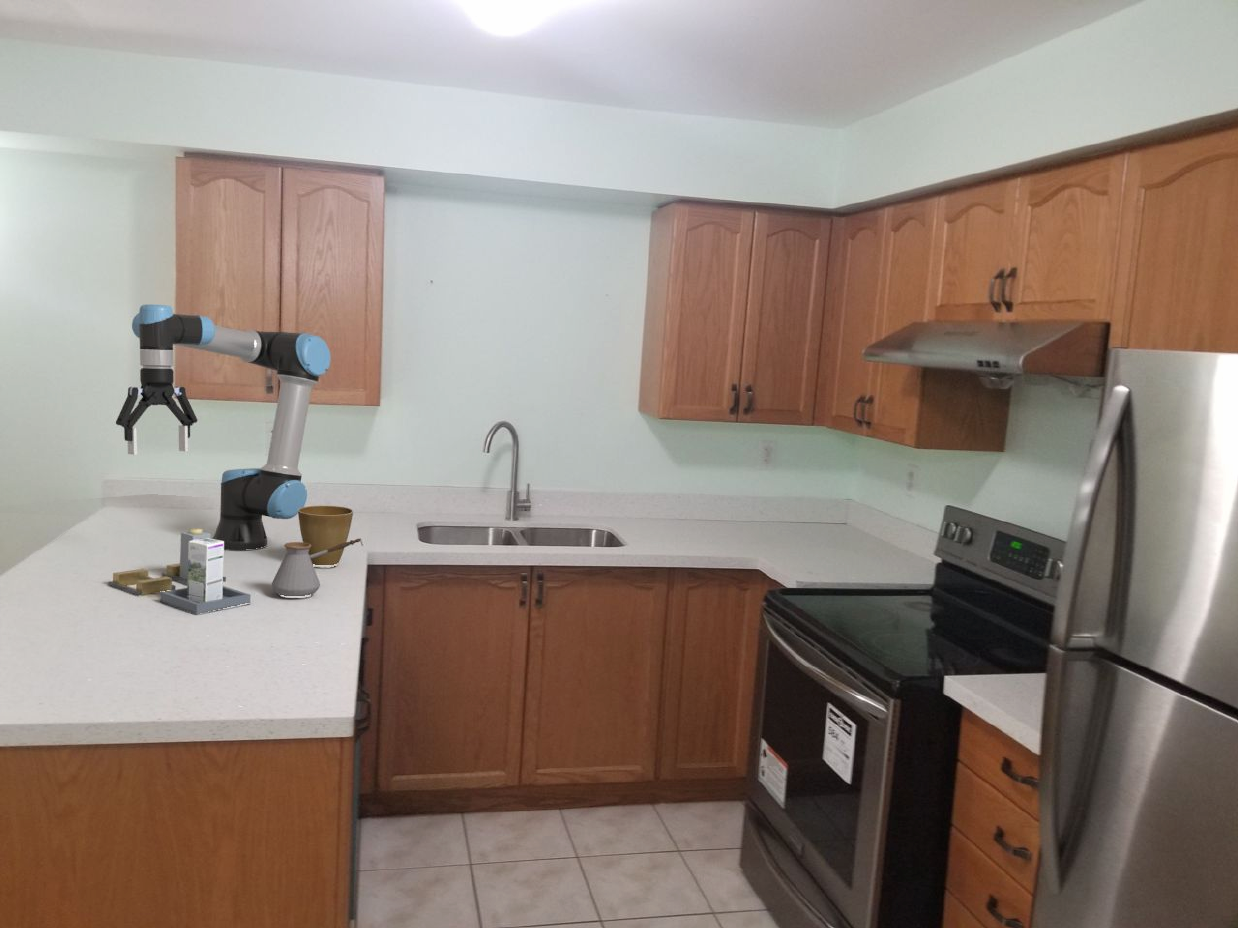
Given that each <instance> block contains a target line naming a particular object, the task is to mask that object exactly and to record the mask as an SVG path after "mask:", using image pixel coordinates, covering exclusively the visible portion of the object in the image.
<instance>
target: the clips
mask: <svg viewBox="0 0 1238 928" xmlns="http://www.w3.org/2000/svg"><path fill="white" fill-rule="evenodd" d="M162 577H170V578H172V582H175V583H178V584H182V585H184V586H187V583H188V580H187V579H183V578H180V562H179V563H174V564H173V563H172V564H167V565H166V572H164V573H162ZM225 580H226V581H227V577H226V576H223V581H224V582H226V581H225Z"/></svg>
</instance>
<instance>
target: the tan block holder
mask: <svg viewBox="0 0 1238 928" xmlns="http://www.w3.org/2000/svg"><path fill="white" fill-rule="evenodd" d="M133 585H136V588H134V587H131V586H133ZM108 586H109V587H112V588H115V589H117V590H121V591H122V590H123V592H125V591H126V593H128V592H129V593H128V594H131V593H132V594H131V595H134V596H136V595H137V596H138V597H140V596H139V595H141V596H146V595H145V594H147V595H151V594H150V593H153V594H157V593H156V592H159V593H161V592H160V591H167V590H176V586H177V585H175V584H173V581H172V578H170V577H163V576H159V577H150V576H149V570H147V569H144V568H138V569H132V570H131V569H130V570H125V571H117V572H113V573H112V580H110V581H109V582H108ZM137 596H136V597H137Z"/></svg>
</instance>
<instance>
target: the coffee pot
mask: <svg viewBox="0 0 1238 928" xmlns="http://www.w3.org/2000/svg"><path fill="white" fill-rule="evenodd" d="M359 542H360V544H361V546H362V547H364V543H363V541H362V538H361V537H360V538H356V539H354V540H352V539H351V540H350V541H347V542H346V543H342V544H339V545H337V546H334V547H332V548H329V549H327V550H324V551H321V552H318V553H315V554H312V555H309V554H308V552H309V549H310V547H311V544H309V543H303V541H302V542H299V541H295V542H286V543H284V544H283V545H284V547H285V550H286V553H285V555H284V558H283V560H282V562H281V563H280V566H279V567H278V569H277V572H276V573H275V576H274V577H273V580H272V582H271V587H272V590H273V591H274V592H275V593H276V594H278V595H279V594H280V595H284V596H305V595H310V594H312V595H314V594H316V592H317V591H318V590H319V589H320V587H321V583H320V580H319V578H318V575H317V572H316V570H315V569H316V568H314V567H313V564H312V562H311V559H312V558H314V557H317V556H320V555H322V554H325V553H329V552H332V551H335V550H339V549H342V548H344V549H345V548H346V547H349V546H351V545H352V546H353V545H354V544H355V543H359ZM313 593H314V594H313Z"/></svg>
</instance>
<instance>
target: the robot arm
mask: <svg viewBox="0 0 1238 928" xmlns="http://www.w3.org/2000/svg"><path fill="white" fill-rule="evenodd" d="M131 328H132V329H131V330H132V332H133V334H134V335H135V336H136V337H137V338H138V339H139V365H140V366H141V368H140V369H139V374H140V377H139V378H140V380H139V381H140V384H141V385H140V388H139V387H137V386H136V387H135V386H129V387H128V389H127V396H126V397H125V398H126V399H125V400H124V403H123V405H122V407H121V410H120V412H119V414H118V416H117V418H116V421H115V424H116V426H120V427H122V428H123V431H124V432H123V433H124V438H123V439H124V441H126V442H127V455H134V456H135V455H138V443H137V441H138V439H137V438H138V437H137V436H138V435H137V434H138V433H137V432H138V431H137V428H136V427H134V426H135V425H136V423H138V421H139V420H140V419H141V417H142V416H143V414H144V413H145V412H146V411H147V409H148V408H149V407H151V406H165V407H167V408H168V409H169V410H170V412H171V413H172V414H173V415H174V416H175V418H176V419H177V420H178V421H179V422H180V424H181V425H178V451H179V452H189V443H188V442H189V439H190V437H191V426H193V425H194V424H196V423H197V422H198V418H197V415H196V413H195V412H194V410H193V408H192V407H193V406H191V404H190V400H189V399H188V396H187V393H186V392H187V391H186V388H185V387H184V386H176V387H174V379H175V378H174V376H175V375H174V370H173V368H172V367H173V366H174V346H180V347H184V348H188V349H193V350H200V351H204V352H209V353H214V354H220V355H225V356H230V357H235V358H239V360H241V362H243V363H248V364H253V365H256V366H259V367H262V368H265V369H269V370H272V371H277V372H276V377H277V378H278V380H279V382H280V385H279V386H280V388H279V392H278V397H277V404H276V408H275V409H276V410H275V415H274V416H275V417H274V420H273V421H274V422H273V427H272V432H271V436H270V437H271V438H270V444H269V447H268V448H269V450H268V455H267V461H266V464H264V465H262V466H261V467H260V468H259V467H257V468H254V467H253V468H235V469H227V470H225V471H224V472H223V473H222V476H221V482H220V511H219V512H220V515H219V521H218V524H217V527H216V530H215V532H214V535H213V537H212V539H215V540H220V541H224V550H226V549H229V550H228V551H247V550H246V549H255V550H257V549H256V548H261V547H264V546H266V545H267V546H268V537H267V532H266V530H265V526H264V522H263V517H269V518H272V519H277V520H280V519H281V520H289V519H293V518H294V517H296V516H297V515H298V509H300V508H302V507H305V505H306V502H307V499H308V492H307V489H306V485H305V484H304V483H303V482H302V473H301V471H300V470H299V469H298V468H299V461H300V456H301V451H302V445H303V439H304V434H305V429H306V428H305V427H306V422H307V415H308V409H309V405H310V398H311V394H312V393H311V392H312V388H313V387H315V386H316V385H317V384H319V379H320V377H321V376H323V375H324V374H325V373H326V372H327V371H328V370H329V368H330V366H331V359H332V357H331V351H330V348H329V346H328V345H327V342H326V341H325V340H324V339H323V338H322V337H320V336H318V335H315V334H310V333H303V332H302V333H301V332H300V333H299V332H286V331H263V330H262V331H260V330H253V329H247V330H244V331H242V330H238V329H233V328H229V327H228V328H227V327H224V326H220V325H216V324H214V322H213V320H212V319H211V318H209V317H207V316H204V315H203V316H202V315H197V314H195V315H194V314H183V313H182V314H181V313H180V314H179V313H174V312H173V308H172V306H171V305H165V304H142V305H141V306H139V312H138V313H136V314H135V316H134V317H133V319H132V323H131ZM139 396H142V397H141V398H140V400H139V401H138V397H139ZM173 396H175V397H176V399H177V401H178V404H179V405H180V407H181V408H180V407H179V405H178V404H177V401H176V400H175V399H174V397H173ZM137 401H138V404H137V406H136V407H135V405H136V403H137ZM134 407H135V408H134ZM267 546H266V547H267ZM264 548H265V547H264ZM261 549H262V548H261Z"/></svg>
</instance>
